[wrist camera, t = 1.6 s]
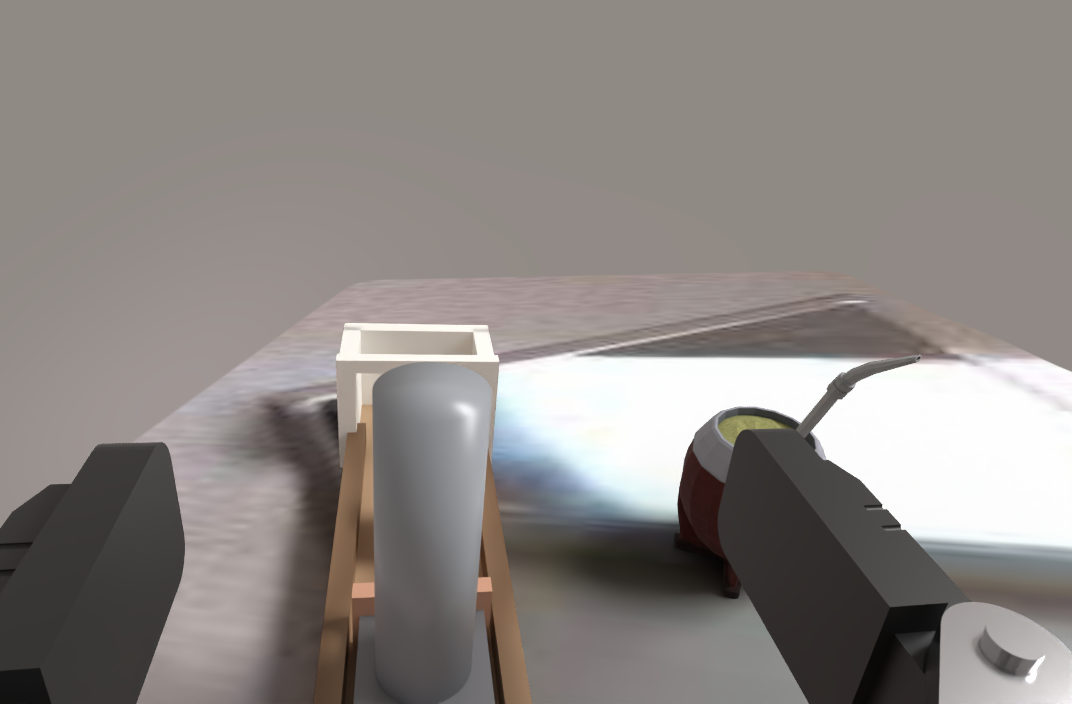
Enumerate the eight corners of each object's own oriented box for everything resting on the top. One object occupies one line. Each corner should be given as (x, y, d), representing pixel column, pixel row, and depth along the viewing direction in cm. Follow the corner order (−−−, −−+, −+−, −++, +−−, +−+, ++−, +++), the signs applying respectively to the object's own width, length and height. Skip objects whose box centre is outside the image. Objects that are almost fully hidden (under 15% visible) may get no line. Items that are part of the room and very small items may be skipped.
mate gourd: (672, 503, 43) (725, 264, 36) (810, 535, 42) (891, 292, 35) (659, 591, 37) (720, 321, 30) (822, 633, 35) (925, 358, 28)
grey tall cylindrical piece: (344, 767, 26) (330, 436, 20) (354, 636, 31) (346, 340, 25) (501, 753, 27) (536, 434, 21) (486, 628, 32) (510, 342, 26)
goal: (339, 467, 43) (335, 360, 40) (347, 409, 49) (344, 311, 46) (491, 465, 45) (499, 361, 42) (481, 409, 50) (488, 314, 47)
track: (312, 779, 27) (308, 734, 26) (355, 405, 49) (355, 373, 48) (528, 759, 28) (534, 716, 27) (473, 405, 51) (475, 374, 50)
